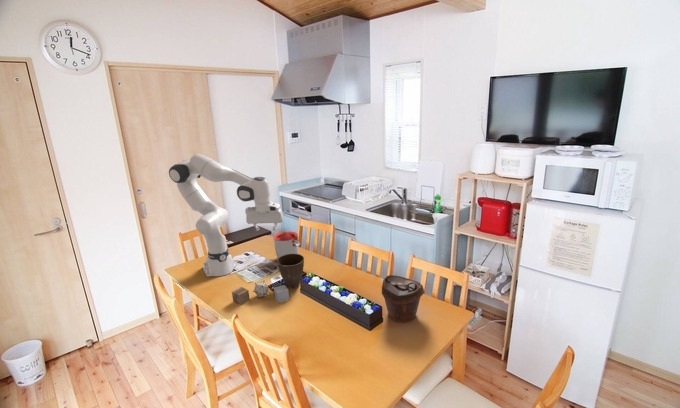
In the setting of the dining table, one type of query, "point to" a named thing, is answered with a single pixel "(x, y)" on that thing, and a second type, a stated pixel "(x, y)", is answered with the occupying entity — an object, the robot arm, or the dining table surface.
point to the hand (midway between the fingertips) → (266, 230)
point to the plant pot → (291, 269)
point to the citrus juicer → (286, 243)
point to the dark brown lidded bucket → (401, 297)
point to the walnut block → (240, 296)
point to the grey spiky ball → (261, 289)
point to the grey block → (281, 293)
